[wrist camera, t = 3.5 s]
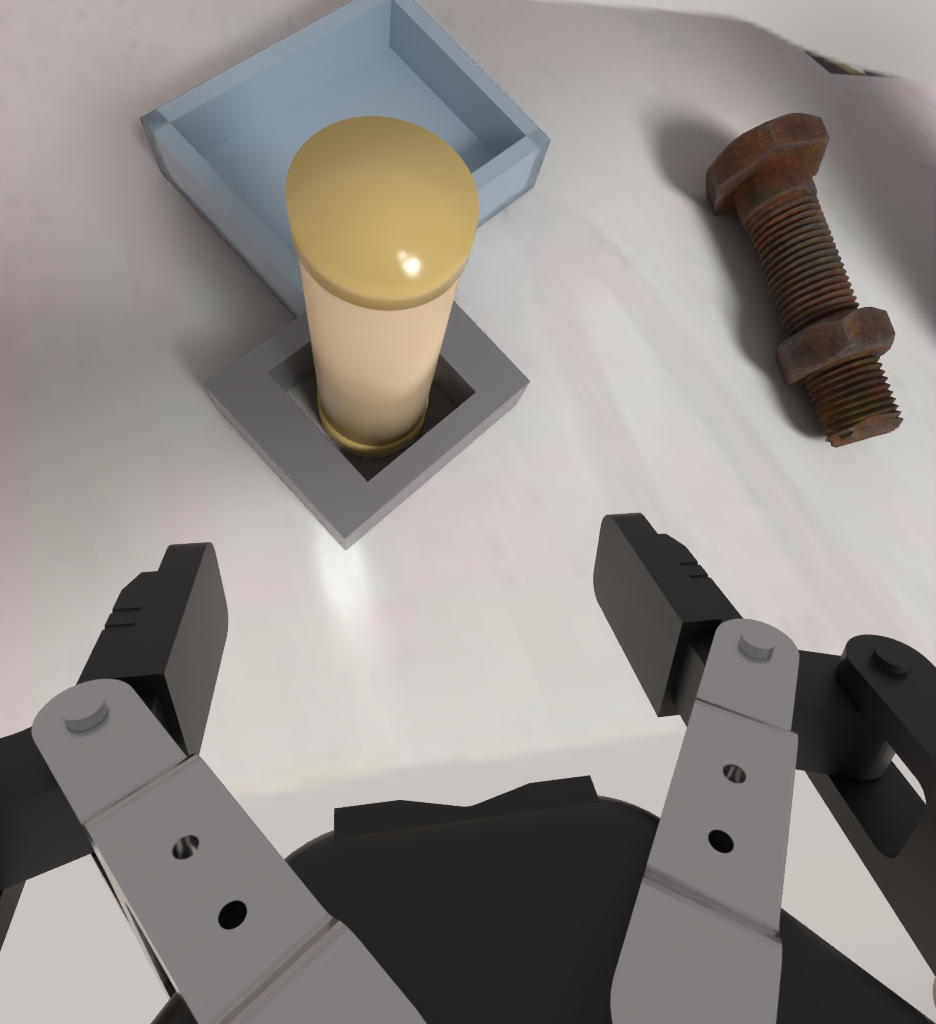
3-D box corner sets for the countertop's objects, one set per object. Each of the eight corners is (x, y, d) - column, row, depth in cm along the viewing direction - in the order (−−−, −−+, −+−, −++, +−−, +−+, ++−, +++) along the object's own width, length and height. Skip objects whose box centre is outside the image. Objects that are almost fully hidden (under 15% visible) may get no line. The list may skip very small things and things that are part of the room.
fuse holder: (396, 278, 29) (400, 244, 27) (516, 404, 29) (530, 381, 26) (217, 409, 27) (203, 383, 24) (345, 550, 26) (344, 539, 24)
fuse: (377, 338, 28) (392, 85, 16) (447, 413, 28) (517, 215, 16) (295, 400, 27) (243, 177, 15) (368, 478, 27) (376, 319, 14)
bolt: (797, 463, 33) (703, 205, 35) (906, 430, 31) (801, 163, 34) (820, 447, 27) (708, 142, 29) (954, 406, 26) (824, 88, 28)
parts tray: (389, 39, 32) (392, -22, 29) (533, 186, 32) (550, 139, 29) (161, 173, 29) (139, 118, 26) (319, 342, 28) (315, 306, 25)
